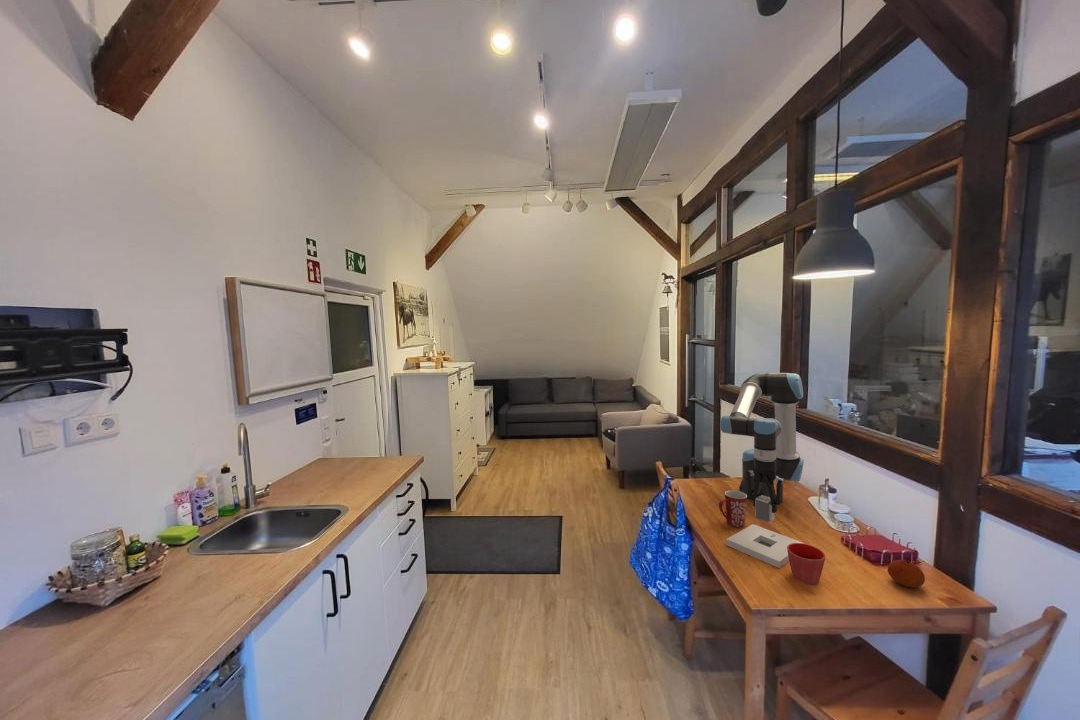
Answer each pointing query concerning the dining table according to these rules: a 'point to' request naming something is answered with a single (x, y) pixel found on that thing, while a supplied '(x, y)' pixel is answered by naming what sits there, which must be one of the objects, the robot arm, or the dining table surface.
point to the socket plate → (762, 544)
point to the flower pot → (806, 562)
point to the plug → (762, 508)
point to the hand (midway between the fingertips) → (764, 517)
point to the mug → (734, 508)
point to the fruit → (906, 573)
